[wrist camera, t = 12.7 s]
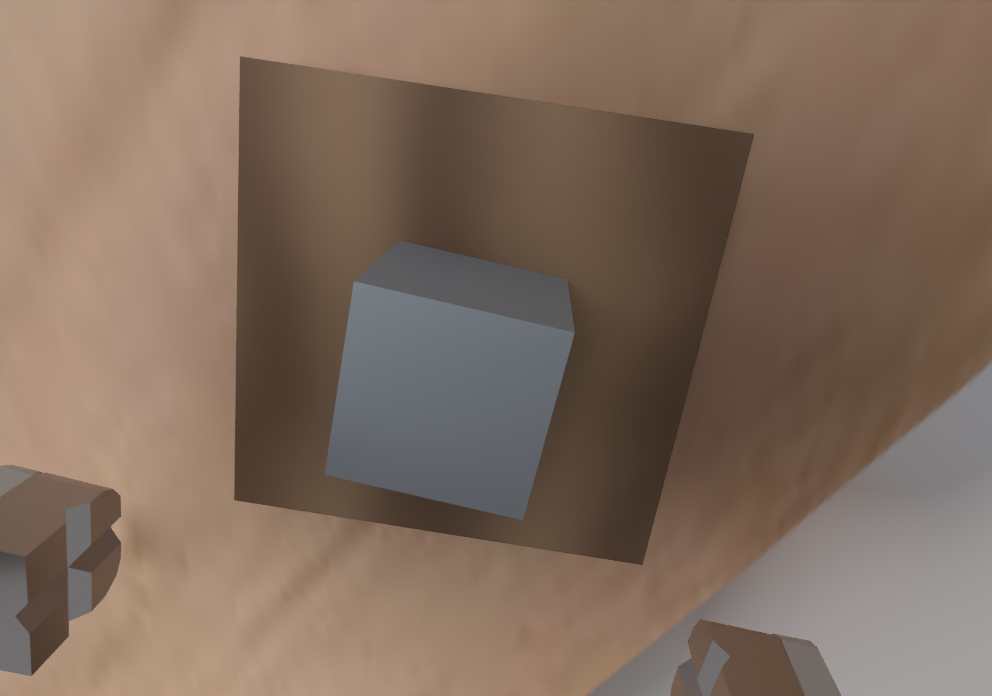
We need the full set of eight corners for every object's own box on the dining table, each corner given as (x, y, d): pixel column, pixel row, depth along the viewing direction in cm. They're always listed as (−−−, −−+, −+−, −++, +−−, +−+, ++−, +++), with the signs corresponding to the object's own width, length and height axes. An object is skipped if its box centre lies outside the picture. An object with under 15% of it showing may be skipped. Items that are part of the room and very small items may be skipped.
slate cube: (567, 279, 20) (574, 332, 15) (527, 429, 21) (522, 520, 17) (399, 240, 20) (353, 281, 15) (372, 393, 21) (324, 474, 16)
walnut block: (709, 129, 23) (754, 134, 18) (625, 487, 27) (642, 564, 23) (302, 68, 23) (240, 56, 18) (286, 434, 28) (234, 500, 23)
